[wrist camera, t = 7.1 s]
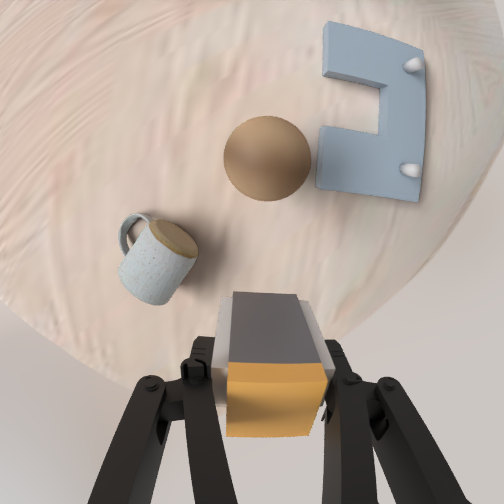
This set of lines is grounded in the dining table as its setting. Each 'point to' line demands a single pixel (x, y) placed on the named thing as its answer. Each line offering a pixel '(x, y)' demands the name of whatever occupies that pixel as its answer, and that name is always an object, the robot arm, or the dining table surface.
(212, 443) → the robot arm
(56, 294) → the dining table surface
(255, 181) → the bobbin
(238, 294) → the orange and grey block
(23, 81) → the dining table surface
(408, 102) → the board
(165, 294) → the ceramic mug
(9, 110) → the dining table surface
